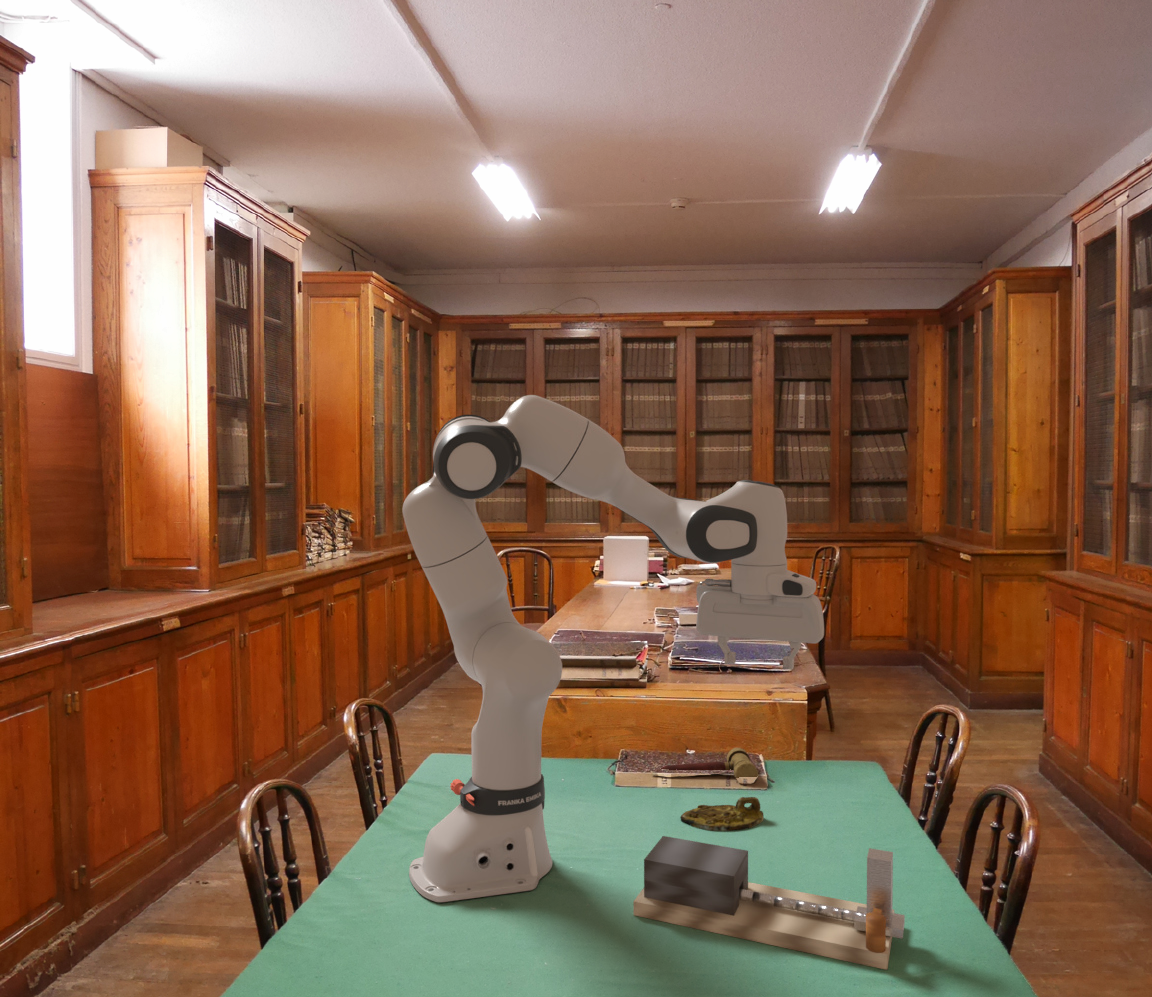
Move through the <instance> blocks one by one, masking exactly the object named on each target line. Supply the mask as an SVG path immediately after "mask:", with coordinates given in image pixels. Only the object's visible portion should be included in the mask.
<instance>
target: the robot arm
mask: <svg viewBox="0 0 1152 997" xmlns="http://www.w3.org/2000/svg"><path fill="white" fill-rule="evenodd" d="M432 447H433V448H432V461H433V463H432V476H431V478H430V479H429V480H428V481H426V482H424V483H422V484H420V485H418V486H417V487H415V488H414V489H413V490H411V492H410V493H408V495H407V496H406V497H405V499H404V502H403V504H402V508H401V510H402V517H403V520H404V524H405V527H406V531H407V534H408V537H409V540H410V543H411V546H412V548H413V551H414V553H415V556H416V558H417V560H418V561H419V564H420V566H421V568H422V570H423V572H424V574H425V577H426V579H427V581H428V582H429V585H430V587H431V589H432V591H433V593H434V595H435V597H436V599H437V602H438V603H439V605H440V608H441V610H442V613H443V615H444V619H445V621H446V624H447V628H448V632H449V635H450V638H451V642H452V644H453V652H454V656H455V658H456V660H457V662H458V664H459V665H460V667H461V669H462V670H463V671H464V673H465V674H466V675H467V676H468V677H469V678H471V680H472V681H475V682H477V683H479V684H480V685H481V688H482V701H481V706H480V710H479V715H478V718H477V722H475V723H474V725H473V727H472V729H471V735H470V736H471V776H470V778H469V780H468V781H467V782H466V783H463V781H462V780H461V779H459V778H456V779H453V780H452V782H451V783H450V786H449V787H450V790H451V791H452V792H453V793H454V794H455V795H457V796H459V798H460V799H459V801H460V803H459V804H458V805H457V806H456V807H455V808H453V810H451V811H450V812H449V813H448V814H447V815H446V816H445V817H443V818H442V819H441V820H440V821H439V822H438V823H437V824H435V825H434V826H433V827H432V828H430V830H429V832H428V834H427V836H426V839H425V843H424V849H423V856H420V857H417V858H415V859H413V860H412V861H411V863H410V865H409V871H408V876H409V880H410V882H411V885H412V886H413V888H415V890H416V891H417V892H418V893H419V894H420V895H421V896H422V897H423V898H426V899H427V900H430V901H433V902H435V903H447V902H453V901H460V900H461V901H462V900H468V899H475V898H476V899H477V898H482V897H484V898H485V897H492V896H498V895H506V894H513V893H521V892H528V891H533V890H535V889H536V888H537V886H538V884H539V881H540V879H542V878H543V877H544V876H545V875H547V874H548V873H549V872H550V871H551V869H552V867H553V858H552V856H551V853H550V848H549V845H548V840H547V835H546V829H545V822H544V821H545V820H544V811H543V810H544V809H545V801H546V800H545V798H546V797H545V796H546V789H545V788H546V787H545V777H544V775H543V774H542V733H543V732H542V729H543V722H544V718H545V713H546V709H547V705H548V701H549V697H551V695H552V694H553V693H554V692H555V691H556V689H557V688H558V686H559V684H560V682H561V678H562V674H563V661H562V657H561V655H560V653H559V651H558V650H557V649H556V648H555V646H554V645H553V644H552V643H551V642H550V641H549V640H548V639H547V638H546V637H545V636H544V635H543V634H541V633H539V632H538V631H536V630H533V629H530V628H528V627H525V626H523V625H522V624H520V622H518V620H517V619H516V617H515V616H514V613H513V611H512V608H511V605H510V600H509V595H508V591H507V586H508V578H507V575H506V573H505V570H504V568H503V566H502V564H501V562H500V559H499V558H498V557H499V556H498V555H497V553H496V551H495V549H494V546H493V545H492V542H491V540H490V538H489V536H488V534H487V532H486V529H485V527H484V526H483V522H482V521H481V518H480V517H479V514H478V511H477V506H476V500H478V499H481V498H486V497H487V496H490V495H492V494H493V493H494V492H495V491H496V490H498V489H500V487H501V486H503V485H504V484H505V483H506V482H507V481H508V480H509V479H510V478H511V477H512V476H513V475H514V474H516V472H518V471H519V470H520V469H521V468H524V469H527V470H530V471H532V472H534V473H536V474H538V475H540V476H541V477H543V478H545V479H546V480H548V481H550V482H552V483H553V484H555V485H556V486H558V487H561V488H562V489H565V490H566V491H569V492H571V493H572V494H573V493H574V494H576V495H578V496H582V497H585V498H587V499H591V500H594V501H601V502H604V503H607V504H610V505H612V506H613V507H615V508H616V509H618V510H620V511H621V512H623V513H625V514H627V515H628V516H629V517H632V518H633V519H635V520H636V521H638V522H639V523H641V524H643V525H644V526H646V527H647V528H648V529H649V530H650V531H651V532H652V533H653V535H655V537H656V538H657V540H658V541H659V543H660V544H661V546H662V547H663V548H664V549H665V551H667V552H668V553H670V554H672V555H673V556H675V557H677V558H681V559H691V560H694V561H696V562H697V561H698V562H702V563H705V564H717V563H722V562H727V561H730V564H731V566H730V567H731V570H730V571H731V573H730V575H731V577H730V578H731V579H729V578H727V579H723V578H721V579H715V578H705V579H704V580H702V581H700V582H699V583H698V584H697V586H696V589H695V590H696V591H695V592H696V594H695V595H696V596H695V597H696V601H697V603H698V604H697V605H698V606H697V613H696V624H695V625H696V626H695V628H696V630H697V632H698V634H700V635H701V636H711V637H712V636H713V637H717V644H718V646H719V648H720V649H721V651H722V653H723V654H724V664H725V665H735V664H736V660H737V658H736V657H737V654H736V653H737V652H735V651H731V649H730V646H729V645H728V642H729V641H730V638H736V639H737V638H738V639H748V640H749V639H753V640H762V641H763V640H765V641H774V642H775V641H777V642H789V648H790V649H792V651H791V652H790V654H789V655H788V656H786V655H785V656H784V657H783V658H782V663H783V665H782V669H783V670H790V671H791V670H792V671H793V670H794V667H795V657H796V656H797V654H798V653H799V651H800V649H801V647H802V643H804V644H818V643H820V641H821V640H823V638H824V636H825V621H824V620H825V619H824V613H823V606H822V603H821V600H820V599H819V597H818V596H817V595H816V594H815V592H816V590H817V581H816V580H815V579H813V578H811V577H808V576H806V575H803V574H799V573H797V572H794V571H792V570H789V569H788V559H787V556H786V550H785V549H786V547H785V546H786V543H787V539H788V513H787V504H786V499H785V495H784V491H783V490H782V489H781V488H780V487H779V486H778V485H775V484H773V483H770V482H765V481H759V480H752V479H751V480H750V479H741V480H738V481H736V483H735V484H734V485H733V486H732V487H730V488H729V489H727V490H726V491H724V492H722V493H721V494H718V495H717V496H714V497H712V498H709V499H706V501H704V500H703V501H701V500H696V499H692V498H685V497H684V498H683V497H675V496H671V495H669V494H667V493H665V492H664V491H662V490H661V489H659V488H658V487H656V486H654V485H653V484H651V483H650V482H648V481H646V480H645V479H643V478H642V477H640V476H638V475H637V474H636V473H634V471H632V470H631V469H630V468H629V466H628V464H627V462H626V456H625V450H624V449H623V446H622V445H621V443H620V442H619V441H618V440H617V439H616V438H615V437H613V436H612V434H610V433H609V432H608V431H607V430H605V429H604V428H602V427H601V426H600V425H598V424H596V423H595V422H594V421H592V420H590V419H588V418H587V417H585V416H583V415H581V414H580V413H578V412H576V411H574V410H572V409H571V408H569V407H566V406H564V405H562V404H560V403H558V402H555V401H552V400H551V399H547V398H545V397H543V396H539V395H536V394H528V395H523V396H521V397H520V398H518V399H517V400H515V401H513V403H512V404H511V405H510V406H509V407H508V408H507V409H506V411H505V413H504V414H503V416H502V417H501V418H500V419H498V420H496V421H490V420H488V419H487V418H484V417H482V416H480V415H477V414H461V415H458V416H456V417H453V418H451V419H450V420H448V421H447V422H446V423H445V424H444V425H443V426H442V427H441V428H440V430H439V432H438V433H437V436H436V438H435V440H434V444H433V446H432Z"/></svg>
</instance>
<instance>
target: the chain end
mask: <svg viewBox="0 0 1152 997" xmlns="http://www.w3.org/2000/svg"><path fill="white" fill-rule="evenodd" d="M893 866H894V852H893V851H889V850H883V849H878V848H877V849H876V848H870V847H869V848H868V852H867V856H866V904H867V908H865V907H860V906H858V907H857V911H853V910H848V909H843V908H842V909H841V908H838V907H833V906H827V905H822V904H817V903H812V902H807V901H801V900H796V899H791V898H786V897H781V896H774V895H770V894H765V893H760V892H755V891H754V892H753V891H749V890H744V889H739V899H740V900H745V901H750V902H752V901H753V902H755V903H760V904H765V905H770V906H775V907H780V908H785V909H790V910H796V911H801V912H806V913H811V914H816V915H818V914H819V915H821V916H826V917H831V918H836V919H842V920H846V921H851V922H854V929H856V930H861V931H866V914H867V913H870V912H873V909H874V908H877V909H882V915H884V916H885V918H886V936H891V937H892V938H895V939H896V938H897V939H902V940H903V938H904V930H905V920H906V919H905V916H906V914H902V913H897V912H894V913H892V909H893V903H894V902H893V896H894V895H893V894H894V889H893V888H894V887H893V886H894V883H893V882H894V871H893V870H894V867H893Z"/></svg>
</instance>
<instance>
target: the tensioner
mask: <svg viewBox="0 0 1152 997" xmlns="http://www.w3.org/2000/svg"><path fill="white" fill-rule="evenodd" d="M739 889H744V890H749V891H753V892H754V891H755V892H760V893H765V894H770V895H774V896H781V897H786V898H791V899H796V900H801V901H807V902H812V903H817V904H822V905H827V906H833V907H838V908H841V909H842V908H843V909H848V910H853V911H857V907H858V906H860V907H865V908H867V903H861V902H856V901H850V900H846V899H845V900H844V899H841V898H840V899H839V898H834V897H829V896H824V895H818V894H813V893H807V892H803V891H797V890H791V889H788V888H781V887H776V886H770V885H765V884H759V883H755V882H749V850H748V849H747V850H746V849H742V848H741V849H739V848H735V847H729V846H723V845H719V844H712V843H707V842H700V841H695V840H689V839H683V838H677V837H672V836H666V835H663V836H662V837H661V838H660V839H659V840H658V841H657V843H655V845H654V846H653V848H652V849H651V850H650V851H649V853H648V854H647V855H646V857H645V858H644V859H643V888H642V889H641V891H640V892H639V893H638V894H637V895H636V898H635V899H634V900H633V916H634V917H635V916H636V917H641V918H644V919H650V920H653V921H659V922H664V923H669V924H673V925H676V926H677V925H678V926H682V927H686V928H691V929H695V930H700V931H705V932H711V933H715V934H719V935H724V936H728V937H733V938H737V939H743V940H747V941H753V942H757V943H760V944H766V945H770V946H776V947H780V948H784V949H788V950H792V951H799V952H802V953H808V954H813V955H817V956H821V957H825V958H829V959H830V958H831V959H835V960H840V961H845V962H849V963H854V964H859V965H862V966H867V967H873V968H878V969H882V970H886V971H887V970H888V967H889V961H890V955H891V948H892V942H893V937H891V936H886V918H885V916H884V915H882V909H877V908H874V909H873V912H870V913H867V914H866V931H861V930H856V929H854V922H851V921H846V920H842V919H836V918H831V917H826V916H821V915H819V914H818V915H816V914H811V913H806V912H801V911H796V910H790V909H785V908H780V907H775V906H770V905H765V904H760V903H755V902H753V901H752V902H750V901H745V900H740V899H739ZM892 913H895V909H893V908H892Z"/></svg>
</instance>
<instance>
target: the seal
mask: <svg viewBox="0 0 1152 997" xmlns="http://www.w3.org/2000/svg"><path fill="white" fill-rule="evenodd" d="M747 804H750V805H749V806H745V805H747ZM764 815H765V814H764V811H763V810H761V803H760V800H759V798H758V797H755V796H748V797H747V796H743V797H740V798H738V799H737V801H736V803H735V805H734V804H733V805H732V804H721V805H718V804H717V805H707V804H699V805H698V806H697V807H696V808H693V809H690V810H687V811H686V810H685V812H683V813H682V814H681V816H680V821H681V822H685V823H686V824H688V825H691V826H690V827H693V828H695V829H700V830H705V831H713V832H731V831H739V830H746V829H751V828H754V827H756V826H758V825H760V824H761V823H762V822H763V821H764Z"/></svg>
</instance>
